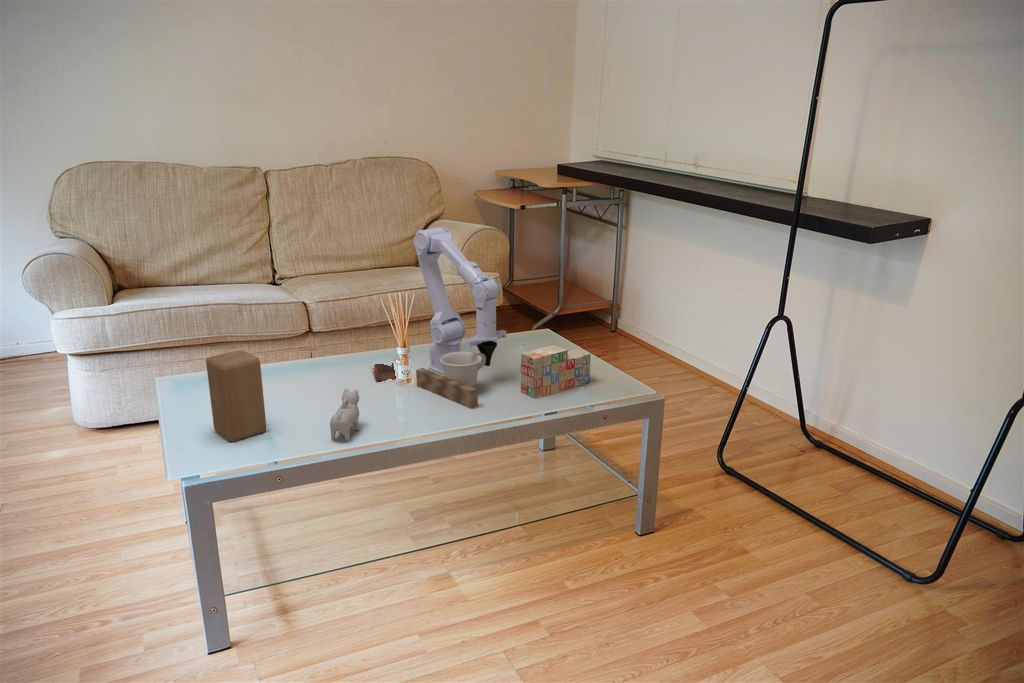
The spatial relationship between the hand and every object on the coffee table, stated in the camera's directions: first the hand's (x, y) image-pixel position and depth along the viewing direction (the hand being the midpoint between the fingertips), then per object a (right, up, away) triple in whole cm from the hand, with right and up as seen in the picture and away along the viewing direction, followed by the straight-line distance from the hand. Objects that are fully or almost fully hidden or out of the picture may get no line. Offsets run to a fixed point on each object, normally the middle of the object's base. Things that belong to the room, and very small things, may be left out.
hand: (486, 365), depth 230 cm
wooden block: (-61, -16, -33) cm, 71 cm away
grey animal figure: (-34, -16, -33) cm, 50 cm away
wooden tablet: (-31, -2, +14) cm, 34 cm away
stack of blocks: (+20, -7, -2) cm, 22 cm away
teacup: (-6, -7, -4) cm, 10 cm away
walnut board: (-11, -8, -9) cm, 16 cm away
